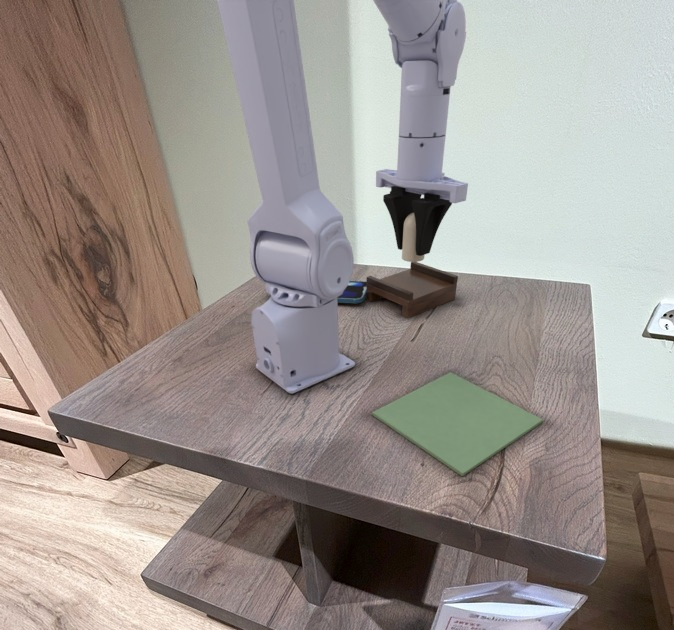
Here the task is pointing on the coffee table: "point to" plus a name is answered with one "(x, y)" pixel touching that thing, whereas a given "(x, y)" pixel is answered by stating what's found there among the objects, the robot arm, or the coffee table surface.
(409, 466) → the coffee table surface
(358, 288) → the smartphone
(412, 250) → the beige rounded peg
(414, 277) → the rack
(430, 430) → the mat
